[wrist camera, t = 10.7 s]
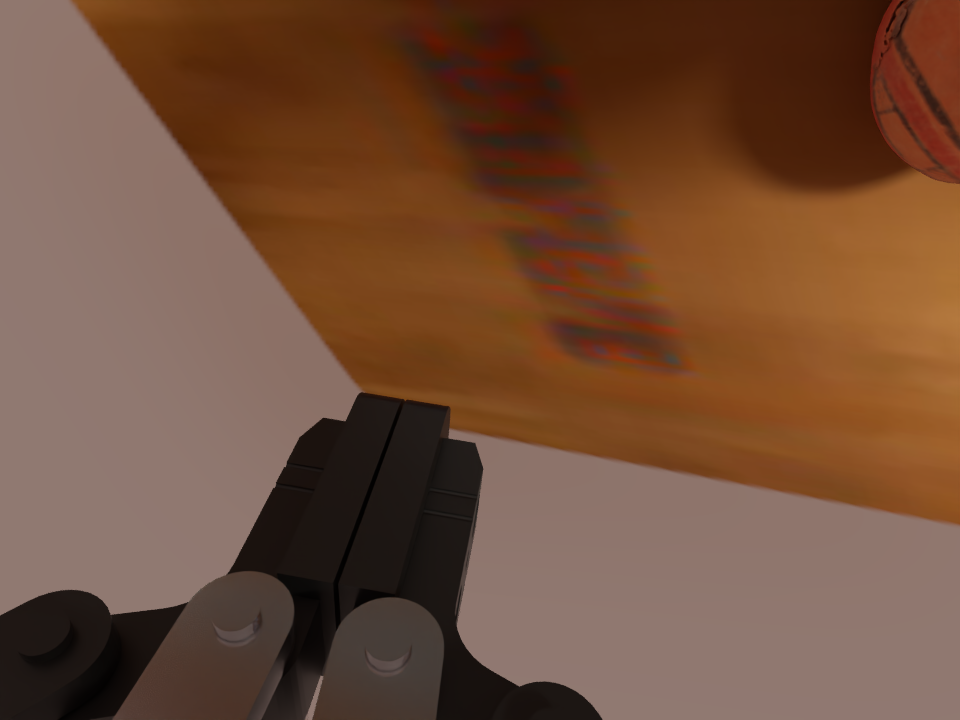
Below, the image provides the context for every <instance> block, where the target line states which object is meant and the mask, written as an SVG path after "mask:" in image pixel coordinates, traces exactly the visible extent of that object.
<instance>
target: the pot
mask: <svg viewBox="0 0 960 720" xmlns="http://www.w3.org/2000/svg"><path fill="white" fill-rule="evenodd" d="M870 98H871V106H872V111H873V115H874V117H875V121H876V123H877V125H878V128H879V130H880V132H881V134H882V136H883V138H884V139H885V141H886V142H887V144H888V145H889V146H890V148H891V149H892V150H893V151H894V152H895V153H896V154H897V155H898V156H899V157H900V158H901V159H902V160H903V161H905V162H906V163H907V164H909V165H910V166H912V167H913V168H915V169H916V170H917V171H919V172H921V173H923V174H924V175H926V176H928V177H930V178H932V179H935V180H938V181H943V182H948V183H956V184H960V0H892V2H891V3H890V5H889V7H888V9H887V10H886V12H885V14H884V16H883V18H882V21H881V23H880V25H879V28H878V31H877V34H876V38H875V43H874V49H873V55H872V63H871V74H870Z"/></svg>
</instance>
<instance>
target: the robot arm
mask: <svg viewBox="0 0 960 720" xmlns="http://www.w3.org/2000/svg"><path fill="white" fill-rule="evenodd" d="M449 424H450V407H449V406H443V405H437V404H430V403H424V402H418V401H412V400H406V401H405V400H404V399H399V398H393V397H387V396H381V395H375V394H369V393H363V392H361V393H359V394H358V396H357V398H356V400H355V402H354V404H353V406H352V409H351V411H350V413H349V415H348V417H347V420H346V421H339V420H334V419H327V418H322V419H321V420H320V421H319V422H318V423H316V424H315V425H314V426H313V427H312V428H310V429H309V430H308V431H307V432H306V433H304V434H303V435H302V436H301V437H300V438H299V440H298V442H297V444H296V445H295V447H294V449H293V452H292V453H291V455H290V457H289V459H288V461H287V465H286V467H284V469H283V471H282V473H281V474H280V476H279V478H278V480H277V482H276V487H275V488H273V490H272V492H271V494H270V495H269V498H268V499H267V501H266V503H265V505H264V507H263V509H262V511H261V513H260V515H259V517H258V519H257V520H256V522H255V524H254V526H253V528H252V530H251V532H250V534H249V536H248V538H247V540H246V542H245V544H244V545H243V547H242V549H241V551H240V553H239V555H238V557H237V559H236V561H235V563H234V565H233V566H232V568H231V569H230V571H229V572H228V574H227V575H225V576H222V577H220V578H218V579H215V580H214V581H212V582H210V583H208V584H207V585H206V586H204V587H203V588H202V589H200V590H199V591H198V592H197V593H196V594H195V595H194V596H193V597H192V599H191V600H190V601H189V602H187V603H184V604H181V605H178V606H175V607H169V608H164V609H157V610H147V611H140V612H131V613H123V614H114V615H110V612H109V610H108V607H107V606H106V605H105V604H104V602H103V601H102V600H101V599H99V598H98V597H97V596H95V595H92V594H91V593H88V592H84V591H78V590H63V591H56V592H52V593H48V594H45V595H42V596H38V597H37V598H34V599H32V600H30V601H28V602H26V603H24V604H22V605H20V606H18V607H16V608H14V609H12V610H10V611H8V612H6V613H4V614H2V615H1V616H0V720H308V710H309V707H310V705H311V701H312V699H313V696H314V692H315V690H316V687H317V684H318V681H319V678H320V676H323V680H322V684H321V688H320V692H319V696H318V699H317V703H316V707H315V711H314V715H313V719H312V720H602V718H601V717H600V715H599V714H598V712H597V711H596V710H595V708H594V707H593V706H592V705H591V704H590V703H589V702H588V701H587V700H586V699H585V698H584V697H583V696H582V695H580V694H579V693H577V692H576V691H574V690H572V689H570V688H568V687H566V686H564V685H560V684H557V683H552V682H533V683H529V684H525V685H523V686H520V687H519V686H517V685H516V684H514V683H512V682H510V681H508V680H507V679H505V678H503V677H501V676H500V675H498V674H496V673H494V672H493V671H491V670H489V669H488V668H486V667H485V666H483V665H482V664H481V663H479V662H478V661H477V660H476V659H475V658H474V657H473V656H472V655H471V654H470V652H469V651H468V650H467V649H466V647H465V645H464V644H463V642H462V640H461V638H460V635H459V633H458V630H457V621H458V616H459V611H460V605H461V601H462V595H463V590H464V585H465V579H466V575H467V569H468V564H469V558H470V554H471V549H472V543H473V538H474V533H475V527H476V520H477V512H478V505H479V497H480V489H481V481H482V474H483V466H482V463H481V460H480V457H479V454H478V451H477V447H476V444H475V443H472V442H466V441H460V440H453V439H448V435H449Z"/></svg>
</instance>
